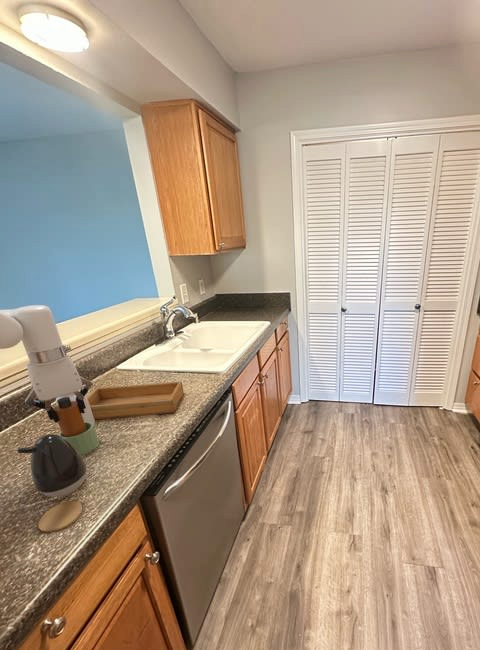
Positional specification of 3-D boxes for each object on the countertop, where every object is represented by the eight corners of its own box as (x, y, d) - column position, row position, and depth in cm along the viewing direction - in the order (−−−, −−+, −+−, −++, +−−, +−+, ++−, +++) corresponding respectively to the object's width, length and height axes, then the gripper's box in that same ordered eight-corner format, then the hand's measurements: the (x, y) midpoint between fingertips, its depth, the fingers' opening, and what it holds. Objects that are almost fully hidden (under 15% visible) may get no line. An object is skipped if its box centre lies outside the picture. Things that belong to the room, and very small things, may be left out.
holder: (62, 460, 89) (54, 441, 86) (70, 444, 96) (63, 425, 94) (96, 452, 92) (90, 433, 89) (102, 437, 99) (95, 418, 96)
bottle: (65, 453, 90) (47, 406, 84) (70, 442, 94) (54, 397, 89) (88, 448, 91) (72, 401, 86) (92, 438, 96) (77, 393, 91)
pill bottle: (82, 435, 100) (66, 392, 94) (61, 433, 101) (43, 391, 96) (101, 421, 107) (87, 381, 101) (81, 420, 109) (66, 379, 103)
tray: (184, 393, 124) (181, 380, 121) (174, 413, 110) (171, 399, 107) (100, 401, 121) (96, 387, 119) (79, 423, 107) (74, 408, 105)
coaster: (33, 537, 66) (32, 536, 66) (45, 509, 73) (45, 507, 73) (78, 524, 69) (77, 522, 68) (86, 498, 76) (85, 496, 75)
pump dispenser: (39, 488, 79) (14, 436, 73) (87, 468, 85) (68, 419, 79) (41, 512, 72) (15, 457, 66) (94, 489, 78) (74, 436, 72)
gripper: (81, 343, 90) (99, 400, 97) (1, 361, 79) (28, 424, 86) (89, 349, 86) (107, 408, 92) (5, 368, 74) (33, 434, 81)
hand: (69, 415), depth 89 cm, fingers closed on bottle, 5 cm apart
